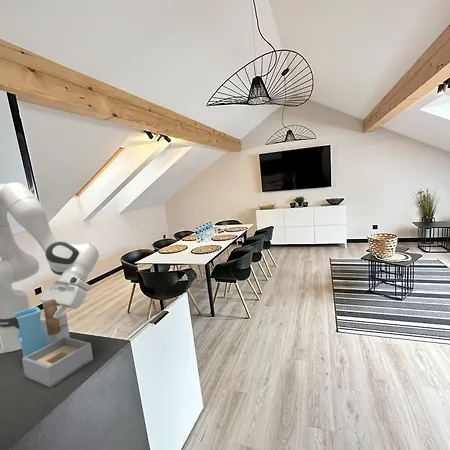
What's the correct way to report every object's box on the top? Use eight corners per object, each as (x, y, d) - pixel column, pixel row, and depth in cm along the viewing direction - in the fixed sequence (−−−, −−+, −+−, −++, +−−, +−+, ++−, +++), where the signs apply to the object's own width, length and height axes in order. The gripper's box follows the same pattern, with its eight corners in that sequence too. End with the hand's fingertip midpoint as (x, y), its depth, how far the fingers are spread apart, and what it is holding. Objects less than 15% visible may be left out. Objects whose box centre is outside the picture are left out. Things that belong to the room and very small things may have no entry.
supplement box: (57, 348, 117) (53, 320, 116) (43, 348, 119) (38, 320, 117) (70, 339, 124) (66, 312, 123) (57, 338, 126) (52, 312, 124)
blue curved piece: (22, 360, 110) (13, 313, 108) (45, 351, 115) (37, 306, 113) (25, 368, 104) (16, 318, 102) (49, 358, 110) (41, 310, 108)
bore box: (25, 376, 99) (21, 358, 98) (67, 352, 113) (65, 336, 112) (51, 387, 92) (47, 368, 91) (93, 360, 106) (90, 343, 105)
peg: (45, 334, 100) (40, 303, 99) (56, 329, 104) (51, 298, 102) (52, 336, 98) (46, 304, 97) (63, 331, 102) (57, 299, 100)
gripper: (48, 276, 110) (26, 310, 102) (81, 280, 100) (59, 317, 93) (61, 283, 114) (41, 316, 107) (94, 287, 105) (74, 323, 97)
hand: (49, 317), depth 100 cm, fingers closed on peg, 4 cm apart
